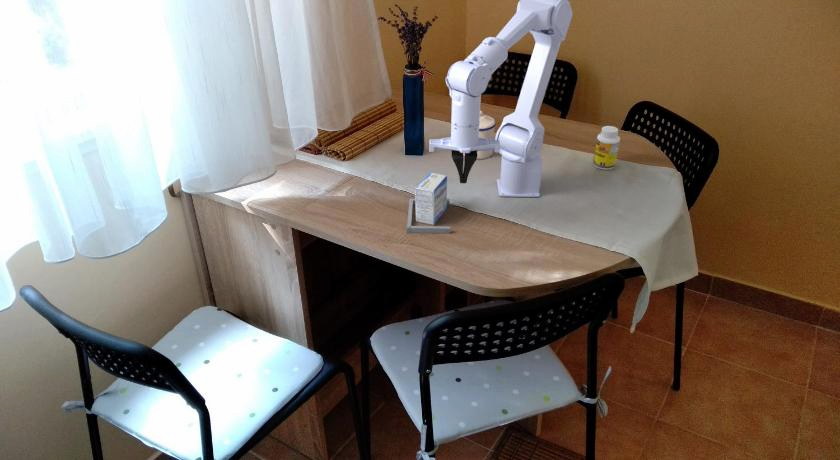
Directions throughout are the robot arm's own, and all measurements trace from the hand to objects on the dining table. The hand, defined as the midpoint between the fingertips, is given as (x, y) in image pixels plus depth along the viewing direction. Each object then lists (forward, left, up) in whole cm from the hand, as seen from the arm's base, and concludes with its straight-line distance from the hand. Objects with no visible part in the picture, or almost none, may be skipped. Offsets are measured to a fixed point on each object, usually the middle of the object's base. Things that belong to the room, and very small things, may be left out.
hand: (463, 181), depth 136 cm
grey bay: (+7, 0, -9) cm, 12 cm away
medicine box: (+7, -1, -10) cm, 12 cm away
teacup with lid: (-4, -34, -10) cm, 36 cm away
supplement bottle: (-37, -26, -10) cm, 47 cm away
